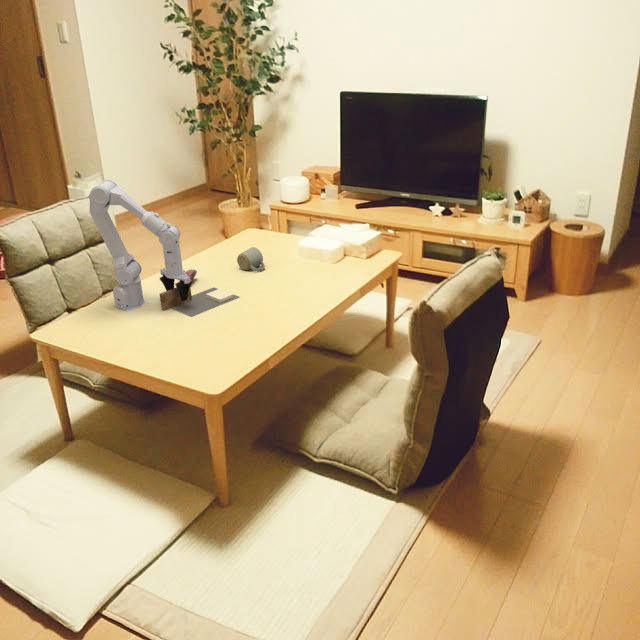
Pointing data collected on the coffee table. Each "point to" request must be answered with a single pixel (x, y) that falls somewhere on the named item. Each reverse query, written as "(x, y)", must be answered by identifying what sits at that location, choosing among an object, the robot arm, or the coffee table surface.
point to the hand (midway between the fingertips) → (177, 297)
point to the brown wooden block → (172, 298)
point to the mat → (200, 303)
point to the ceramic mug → (251, 259)
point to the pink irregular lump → (190, 274)
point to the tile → (219, 295)
